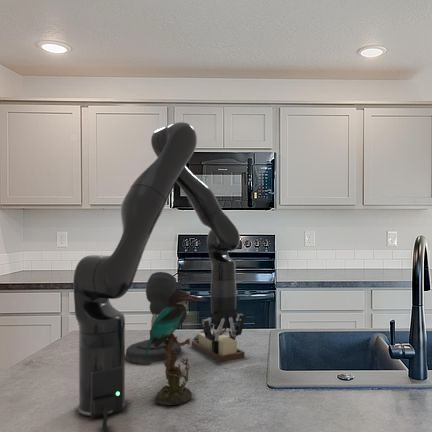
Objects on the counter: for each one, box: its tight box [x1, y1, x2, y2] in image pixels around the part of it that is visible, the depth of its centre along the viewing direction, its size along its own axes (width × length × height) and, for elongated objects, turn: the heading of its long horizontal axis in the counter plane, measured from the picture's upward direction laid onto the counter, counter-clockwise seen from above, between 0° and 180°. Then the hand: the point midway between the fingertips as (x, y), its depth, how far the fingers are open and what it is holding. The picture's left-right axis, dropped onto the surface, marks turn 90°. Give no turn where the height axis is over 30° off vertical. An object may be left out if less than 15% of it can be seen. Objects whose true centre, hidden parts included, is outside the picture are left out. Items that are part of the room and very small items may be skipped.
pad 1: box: [198, 331, 221, 350], centre depth 141 cm, size 8×4×4 cm, turn 35°
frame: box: [191, 340, 246, 363], centre depth 137 cm, size 20×8×2 cm, turn 35°
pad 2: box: [211, 334, 238, 356], centre depth 134 cm, size 8×4×4 cm, turn 36°
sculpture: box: [143, 289, 205, 406], centre depth 103 cm, size 8×14×25 cm, turn 86°
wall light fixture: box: [125, 271, 182, 365], centre depth 138 cm, size 16×25×20 cm
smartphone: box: [193, 327, 227, 341], centre depth 157 cm, size 8×1×15 cm
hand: (223, 351), depth 134 cm, fingers closed on pad 2, 4 cm apart
